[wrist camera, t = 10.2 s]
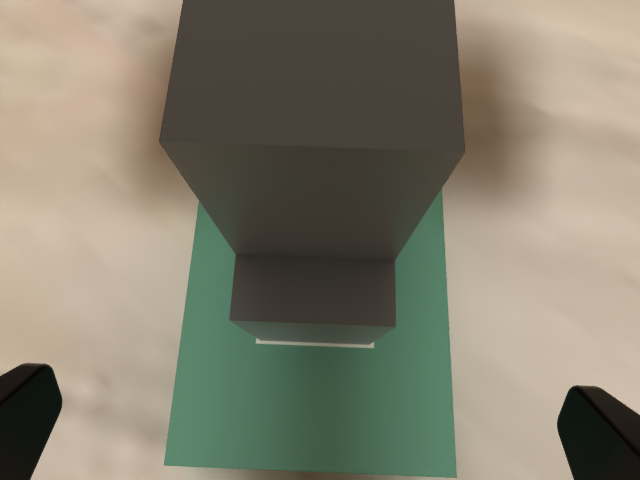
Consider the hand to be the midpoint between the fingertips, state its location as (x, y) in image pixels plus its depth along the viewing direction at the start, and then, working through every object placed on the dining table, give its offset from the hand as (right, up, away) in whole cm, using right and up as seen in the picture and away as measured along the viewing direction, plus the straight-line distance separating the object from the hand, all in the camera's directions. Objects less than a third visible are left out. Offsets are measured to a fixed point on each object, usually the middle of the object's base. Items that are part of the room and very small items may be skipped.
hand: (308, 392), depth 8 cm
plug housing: (0, +2, +11) cm, 11 cm away
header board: (0, +1, +12) cm, 12 cm away
